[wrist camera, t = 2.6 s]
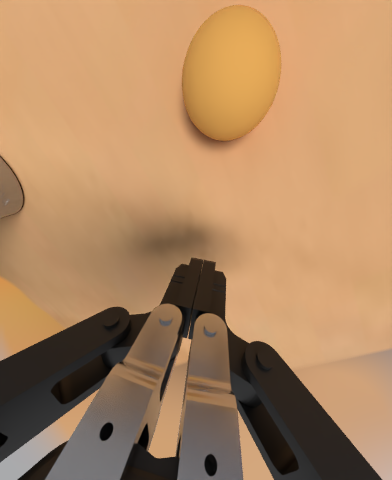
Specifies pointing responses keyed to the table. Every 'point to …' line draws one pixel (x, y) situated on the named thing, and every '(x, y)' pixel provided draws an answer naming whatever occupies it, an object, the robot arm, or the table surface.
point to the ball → (231, 72)
